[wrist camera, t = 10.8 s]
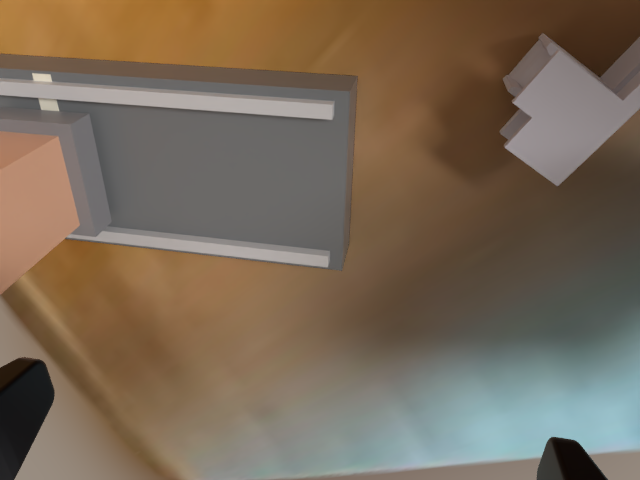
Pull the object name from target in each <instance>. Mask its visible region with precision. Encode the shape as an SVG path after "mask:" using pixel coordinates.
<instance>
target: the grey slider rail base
mask: <svg viewBox="0 0 640 480" xmlns="http://www.w3.org/2000/svg"><path fill="white" fill-rule="evenodd" d="M357 78H358V76H349V75H333V74H317V73H301V72H285V71H269V70H253V69H237V68H221V67H205V66H189V65H173V64H157V63H141V62H125V61H109V60H93V59H76V58H60V57H44V56H28V55H12V54H0V107H12V108H25V109H37V110H50V111H63V112H76V113H88V114H90V119H91V124H92V129H93V134H94V138H95V143H96V148H97V153H98V157H99V162H100V167H101V172H102V177H103V181H104V186H105V191H106V196H107V201H108V205H109V210H110V215H111V220H112V222H111V223H110V224H109V225H108V226H107V227H106V228H105V229H104V230H103V231H102V232H101V233H100V234H99V235H98V236H97V237H91V236H82V235H73V234H69V235H68V236H67V237H66V238H65V239H72V240H80V241H89V242H98V243H106V244H115V245H124V246H132V247H141V248H150V249H158V250H167V251H176V252H184V253H193V254H202V255H210V256H219V257H227V258H236V259H245V260H253V261H262V262H271V263H279V264H288V265H297V266H305V267H314V268H323V269H331V270H340V271H342V269H343V265H344V262H345V258H346V254H347V250H348V246H349V235H350V215H351V195H352V176H353V156H354V137H355V117H356V97H357Z"/></svg>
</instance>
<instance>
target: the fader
mask: <svg viewBox="0 0 640 480" xmlns="http://www.w3.org/2000/svg"><path fill="white" fill-rule="evenodd" d="M111 222H112V220H111V215H110V210H109V205H108V201H107V196H106V191H105V186H104V181H103V177H102V172H101V167H100V162H99V157H98V153H97V148H96V143H95V138H94V134H93V129H92V124H91V119H90V114H88V113H76V112H63V111H50V110H37V109H25V108H12V107H0V295H1V294H2V293H3V292H4V291H5V290H6V289H7V288H9V287H10V286H11V285H12V284H13V283H14V282H15V281H17V280H18V279H19V278H20V277H21V276H22V275H23V274H25V273H26V272H27V271H28V270H29V269H30V268H32V267H33V266H34V265H35V264H36V263H37V262H38V261H40V260H41V259H42V258H43V257H44V256H45V255H46V254H48V253H49V252H50V251H51V250H52V249H53V248H54V247H56V246H57V245H58V244H59V243H60V242H61V241H62V240H64V239H65V238H66V237H67V236H68V235H69V234H73V235H82V236H91V237H97V236H98V235H99V234H100V233H101V232H102V231H103V230H104V229H105V228H106V227H107V226H108V225H109V224H110V223H111Z"/></svg>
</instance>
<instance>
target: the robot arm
mask: <svg viewBox="0 0 640 480" xmlns="http://www.w3.org/2000/svg"><path fill="white" fill-rule="evenodd" d="M53 400H54V388H53V385H52V382H51V379H50V376H49V373H48V370H47V367H46V364H45V363H44V362H43V361H42V360H39V359H32V358H26V357H24V358H23V357H22V358H18V359H16V360H14V361H12V362H10V363H8V364H7V365H4V366H3V367H1V368H0V480H14V479H15V477H16V475H17V473H18V471H19V469H20V468H21V466H22V463H23V461H24V460H25V458H26V455H27V454H28V452H29V450H30V448H31V445H32V443H33V442H34V440H35V438H36V436H37V433H38V432H39V430H40V428H41V426H42V424H43V422H44V419H45V417H46V416H47V414H48V412H49V410H50V408H51V406H52V403H53ZM537 480H608V479H607V478H606V477H605V475H604V474H603V473H602V472H601V470H600V469H599V468H598V466H597V465H596V464H595V463H594V462H593V460H592V459H591V458H590V457H589V455H588V454H587V452H586V451H585V450H584V449H583V447H582V446H581V445H580V444H579V443H578V442H577V441H575V440H571V439H564V438H558V437H551V438H550V439H549V440H548V441H547V444H546V447H545V449H544V452H543V455H542V458H541V461H540V464H539V467H538V471H537Z"/></svg>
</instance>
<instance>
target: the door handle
mask: <svg viewBox="0 0 640 480" xmlns="http://www.w3.org/2000/svg"><path fill="white" fill-rule="evenodd" d="M503 81H504V84H505V86H506V89H507V91H508V92H509V93H510V94H512V95H513V96H514V97H515V98H514V99H513V100H512V103H513V104H515V105H516V106H517V107H519V108H520V109H519V110H518V111H517V112H516V113H515V114H514V115H513V116H512V118H511V119H510V120H509V121H508V122H507V123H506V124H505V125H504V126H503V127H502V128H501V130H500V131H499V132H500V134H501V135H502V136H504V137H505V138H506V139H508V141H507V142H506V143H505V144H504V148H506V149H507V150H508V151H510V152H511V153H512V154H514V155H515V156H517V157H518V158H519V159H521V160H522V161H523V162H525V163H526V164H528V165H529V166H530V167H532V168H533V169H534V170H536V171H537V172H538V173H540V174H541V175H543V176H544V177H545V178H547V179H548V180H549V181H551V182H552V183H553V184H555V185H556V186H559V185H560V184H561V183H562V182H563V181H564V180H565V179H566V178H567V177H568V176H569V175H570V174H571V173H572V172H573V171H575V170H576V169H577V168H578V167H579V166H580V165H581V164H582V163H583V162H584V161H585V160H586V159H587V158H588V157H589V156H590V155H591V154H592V153H593V152H595V151H596V150H597V149H598V148H599V147H600V146H601V145H602V144H603V143H604V142H605V141H606V140H607V139H608V138H609V137H610V136H611V135H612V134H614V133H615V132H616V131H617V130H618V129H619V128H620V127H621V126H622V125H623V124H624V123H625V122H626V121H627V120H628V119H629V118H630V117H631V116H632V115H634V114H635V113H636V112H637V111H638V110H639V109H640V37H639V38H638V39H637V40H636V41H635V42H634V43H633V44H632V45H631V46H630V47H629V48H628V49H627V50H626V51H625V52H624V53H623V54H622V55H621V56H620V57H619V58H618V59H617V60H616V62H615V63H614V64H613V65H612V66H611V67H610V68H609V69H608V70H607V71H606V72H605V73H604V74H603V75H602V76H601V77H599V76H597V75H596V74H595V73H593V72H592V71H591V70H590V69H588V68H587V67H586V66H585V65H583V64H582V63H581V62H579V61H578V60H577V59H576V58H574V57H573V56H572V55H570V54H569V53H568V52H567V51H565V50H564V49H563V48H562V47H560V46H559V45H558V44H556V43H555V42H554V41H553V40H551V39H550V38H549V37H548V36H546V35H545V34H544V33H542V34H541V35H540V36H539V40H538V41H537V42H536V43H535V45H534V46H533V47H532V48H531V49H530V50H529V52H528V53H527V54H526V55H525V56H524V57H523V59H522V60H521V61H520V62H519V63H518V64H517V65H516V67H515V68H514V69H513V70H512V71H511V72H510V74H509V75H506V76H505V77H504V78H503Z"/></svg>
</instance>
